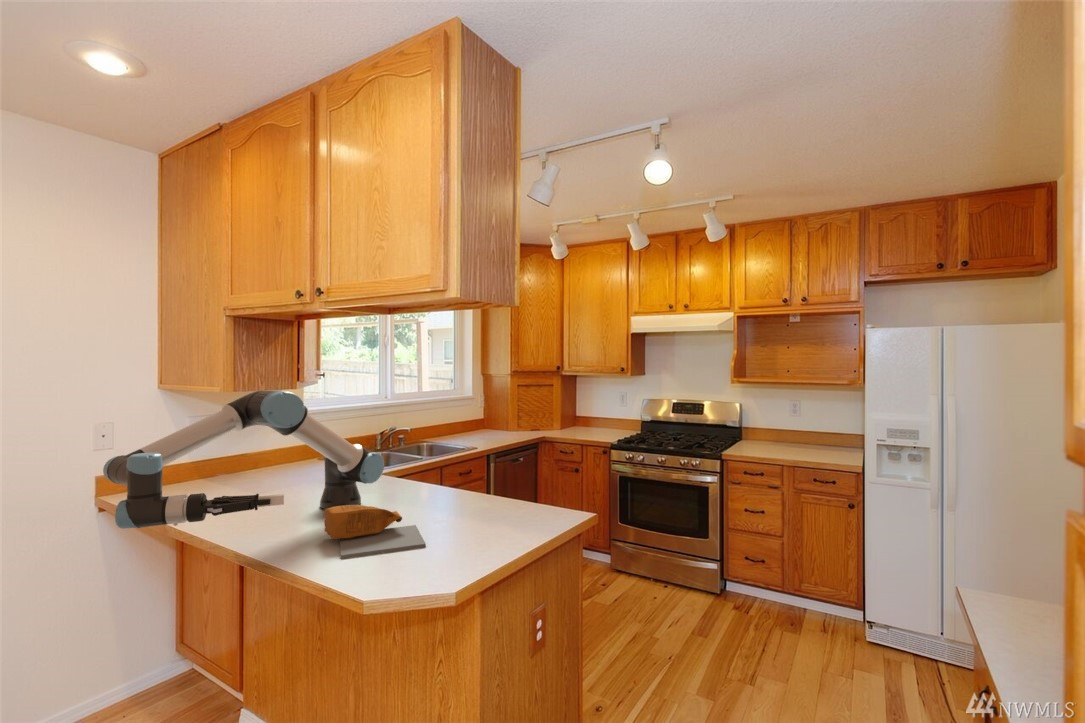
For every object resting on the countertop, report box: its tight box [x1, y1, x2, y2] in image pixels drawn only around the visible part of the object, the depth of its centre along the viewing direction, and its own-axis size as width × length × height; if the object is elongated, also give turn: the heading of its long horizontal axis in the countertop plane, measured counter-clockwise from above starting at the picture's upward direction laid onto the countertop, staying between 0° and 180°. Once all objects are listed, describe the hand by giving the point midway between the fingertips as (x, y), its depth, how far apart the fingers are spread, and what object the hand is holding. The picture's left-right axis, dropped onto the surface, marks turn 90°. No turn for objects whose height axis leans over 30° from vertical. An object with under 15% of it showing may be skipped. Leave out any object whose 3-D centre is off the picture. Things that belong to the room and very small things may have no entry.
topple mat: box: [339, 524, 427, 559], centre depth 161 cm, size 20×24×1 cm
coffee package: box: [324, 504, 403, 540], centre depth 167 cm, size 10×12×22 cm
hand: (283, 499), depth 151 cm, fingers closed
